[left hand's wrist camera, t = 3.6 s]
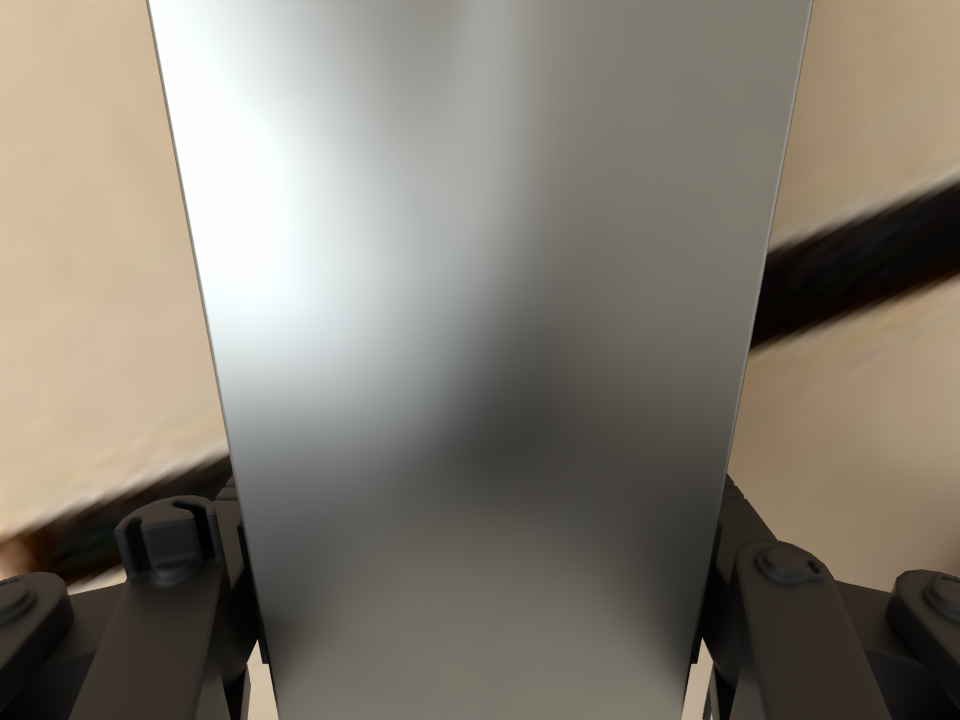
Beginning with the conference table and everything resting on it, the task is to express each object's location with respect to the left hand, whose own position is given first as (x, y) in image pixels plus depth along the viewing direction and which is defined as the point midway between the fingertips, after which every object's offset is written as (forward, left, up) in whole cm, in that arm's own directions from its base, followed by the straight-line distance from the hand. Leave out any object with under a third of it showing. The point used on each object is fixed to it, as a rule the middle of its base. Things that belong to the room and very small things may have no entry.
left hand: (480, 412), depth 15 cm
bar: (+9, +2, -1) cm, 9 cm away
